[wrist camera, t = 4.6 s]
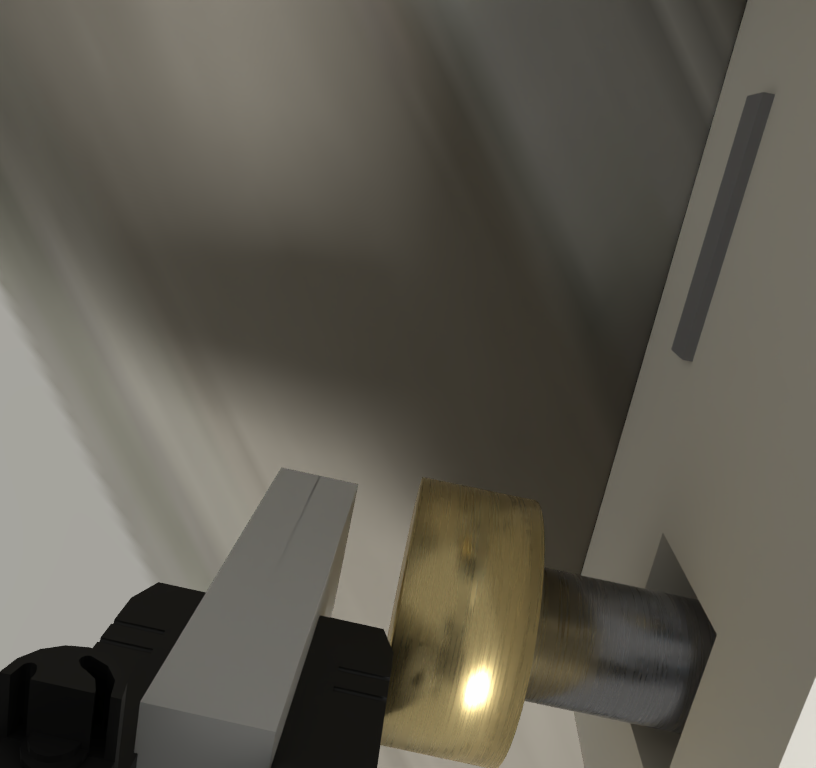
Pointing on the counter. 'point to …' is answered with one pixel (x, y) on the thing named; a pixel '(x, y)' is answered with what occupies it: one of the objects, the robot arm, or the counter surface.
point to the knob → (523, 634)
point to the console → (732, 425)
